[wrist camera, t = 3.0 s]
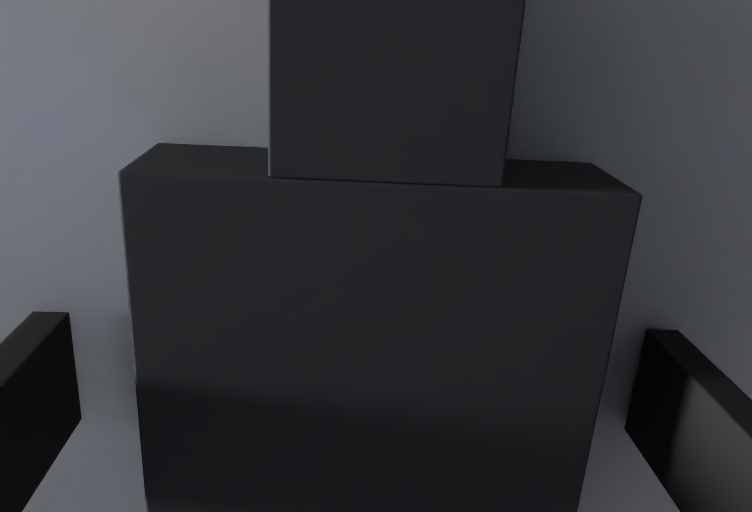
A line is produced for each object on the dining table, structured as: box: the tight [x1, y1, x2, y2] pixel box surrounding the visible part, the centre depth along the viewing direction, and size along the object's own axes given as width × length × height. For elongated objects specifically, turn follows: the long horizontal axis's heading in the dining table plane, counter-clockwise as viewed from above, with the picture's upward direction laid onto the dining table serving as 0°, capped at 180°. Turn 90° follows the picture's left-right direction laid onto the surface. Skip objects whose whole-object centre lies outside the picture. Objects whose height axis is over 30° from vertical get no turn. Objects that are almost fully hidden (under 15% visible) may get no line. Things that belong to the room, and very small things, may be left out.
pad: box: [117, 0, 642, 512], centre depth 13 cm, size 9×14×2 cm, turn 177°
